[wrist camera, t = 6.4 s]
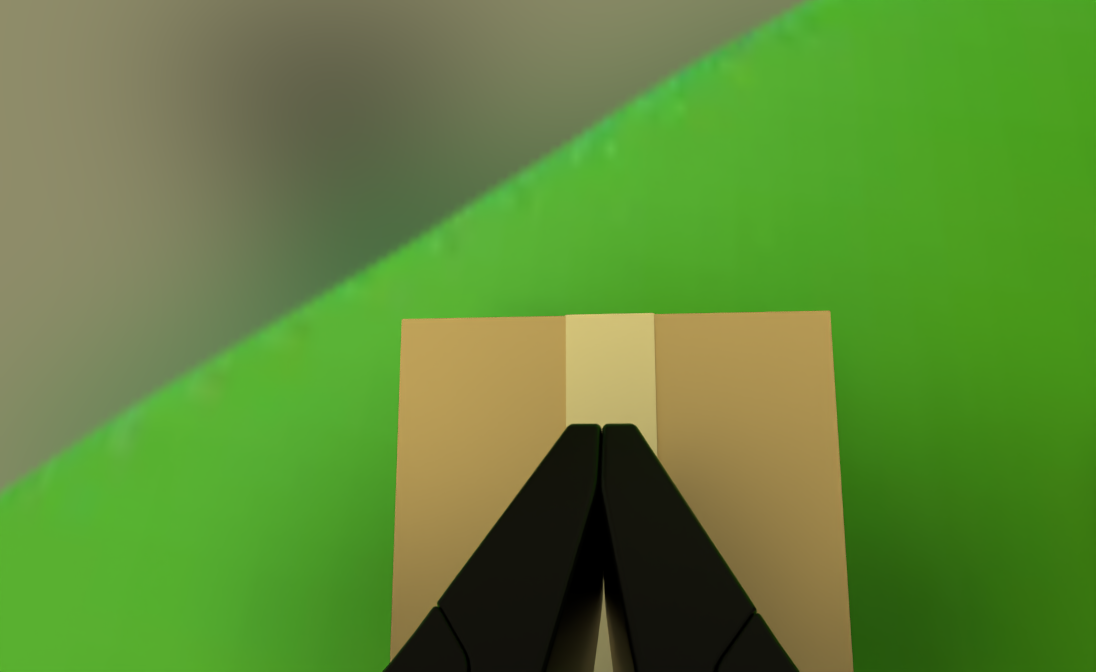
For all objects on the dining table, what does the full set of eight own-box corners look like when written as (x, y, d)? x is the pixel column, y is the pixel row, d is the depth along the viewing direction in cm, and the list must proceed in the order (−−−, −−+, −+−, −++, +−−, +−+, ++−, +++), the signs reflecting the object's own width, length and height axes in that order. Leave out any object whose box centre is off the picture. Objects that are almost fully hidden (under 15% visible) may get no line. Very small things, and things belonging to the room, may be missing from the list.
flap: (849, 720, 14) (859, 732, 13) (395, 704, 15) (385, 714, 14) (823, 315, 15) (831, 309, 15) (408, 323, 16) (400, 317, 16)
